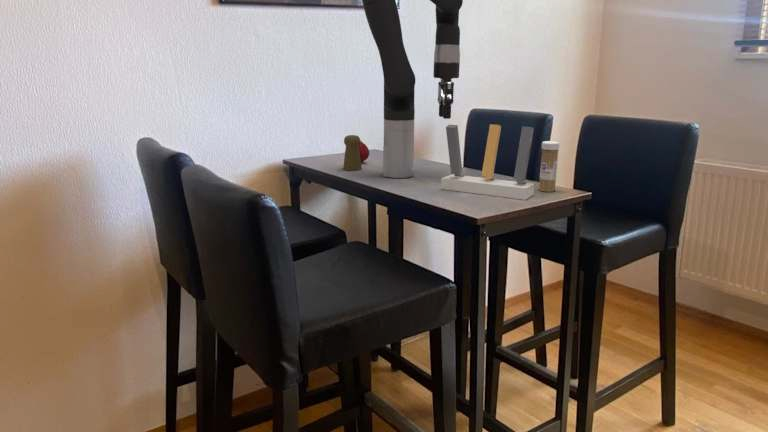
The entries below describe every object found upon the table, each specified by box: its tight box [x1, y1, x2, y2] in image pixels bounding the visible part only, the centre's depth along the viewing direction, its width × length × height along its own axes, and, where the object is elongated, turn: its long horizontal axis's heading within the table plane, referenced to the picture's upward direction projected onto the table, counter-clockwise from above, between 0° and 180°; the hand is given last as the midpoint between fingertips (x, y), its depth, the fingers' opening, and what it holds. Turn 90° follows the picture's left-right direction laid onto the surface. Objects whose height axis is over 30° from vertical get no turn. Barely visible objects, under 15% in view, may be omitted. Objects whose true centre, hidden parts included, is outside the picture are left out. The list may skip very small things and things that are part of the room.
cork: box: [342, 134, 363, 172], centre depth 192 cm, size 6×6×11 cm
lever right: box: [513, 125, 535, 184], centre depth 157 cm, size 3×2×15 cm
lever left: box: [445, 124, 463, 177], centre depth 163 cm, size 3×2×15 cm
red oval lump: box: [359, 139, 370, 164], centre depth 203 cm, size 6×6×8 cm
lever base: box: [440, 174, 535, 201], centre depth 162 cm, size 24×7×3 cm, turn 58°
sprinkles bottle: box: [538, 140, 560, 193], centre depth 163 cm, size 5×5×14 cm
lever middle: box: [481, 123, 502, 180], centre depth 161 cm, size 3×2×15 cm
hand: (444, 117), depth 178 cm, fingers open, 8 cm apart
